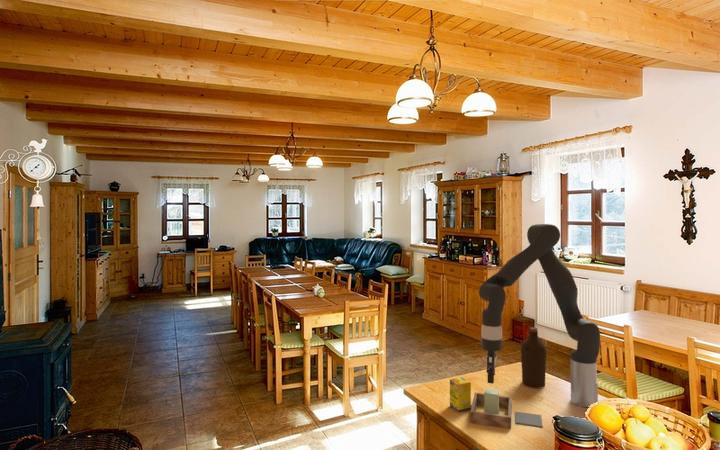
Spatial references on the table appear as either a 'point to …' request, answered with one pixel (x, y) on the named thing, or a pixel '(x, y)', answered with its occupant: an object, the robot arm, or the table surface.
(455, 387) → the supplement box
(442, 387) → the table surface
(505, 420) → the frame
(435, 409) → the table surface
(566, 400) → the table surface
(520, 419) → the mat
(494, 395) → the block
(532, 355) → the olive oil
